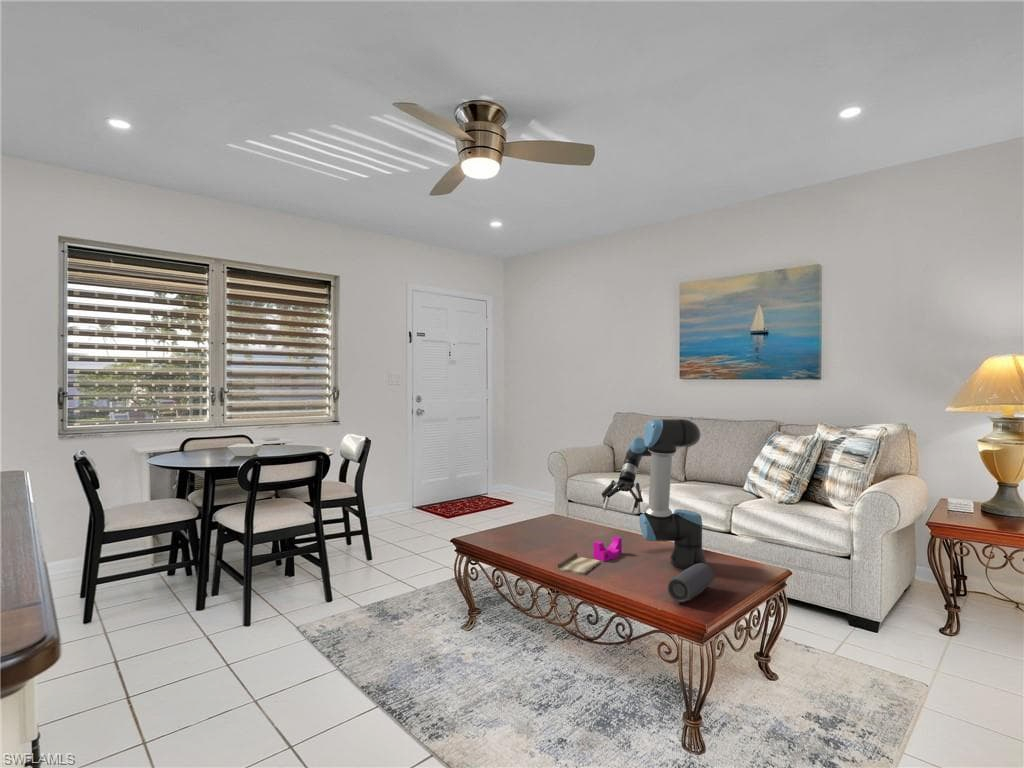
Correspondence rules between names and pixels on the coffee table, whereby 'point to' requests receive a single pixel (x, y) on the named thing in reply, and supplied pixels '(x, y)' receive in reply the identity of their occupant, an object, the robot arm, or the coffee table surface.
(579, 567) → the board
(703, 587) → the bluetooth speaker
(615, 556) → the toy block
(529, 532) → the coffee table surface
